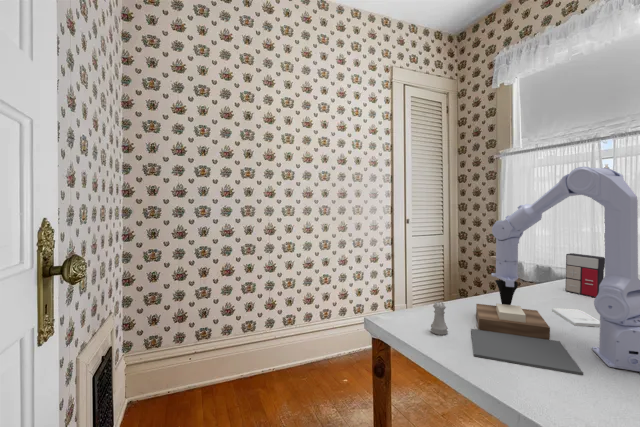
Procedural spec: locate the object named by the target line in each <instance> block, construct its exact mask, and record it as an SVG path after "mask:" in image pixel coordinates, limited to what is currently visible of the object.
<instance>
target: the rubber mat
mask: <svg viewBox="0 0 640 427" xmlns="http://www.w3.org/2000/svg"><path fill="white" fill-rule="evenodd" d="M470 332H471V333H470V334H471V343H472V352H473V357H476V358H482V359H487V360H493V361H497V362H498V361H499V362H505V363H510V364H511V363H512V364H517V365H522V366H529V367H533V368H534V367H535V368H539V369H545V370H551V371H557V372H562V373H568V374H569V373H570V374H574V375H580V376H584V372H583V370H582V369H581V368H580V366H579V365H578V364H577V363H576V361H575V359H574V358H573V357H572V356H571V354H570V353H569V352H568V350H567V349H566V348H565V346H564V345H563V344H562V341H560V340H553V339H550V340H548V339H541V338H533V337H526V336H519V335H512V334H505V333H498V332H491V331H484V330H479V329H476V328H475V329H474V328H470Z"/></svg>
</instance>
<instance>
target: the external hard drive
mask: <svg viewBox="0 0 640 427" xmlns="http://www.w3.org/2000/svg"><path fill="white" fill-rule="evenodd" d="M551 312H552V313H554V314H556V315H558V316H559V317H560V318H562V319H564V320H565V321H566V322H568V323H569V324H571V325H573V326H575V327H587V328H588V327H591V328H600V319H597V318H596V317H593V316H592V315H590V314H588V313H587V312H585V311H583V310H581V309H577V308H575V309H574V308H572V309H571V308H557V307H556V308H555V307H553V308H552V309H551Z"/></svg>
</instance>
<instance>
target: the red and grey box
mask: <svg viewBox="0 0 640 427" xmlns="http://www.w3.org/2000/svg"><path fill="white" fill-rule="evenodd" d="M565 257H566V259H565V289H564V290H565V291H566V292H569V293H572V294H577V295H581V296H585V297H586V296H587V297H590V298H594V299H595V298H596V296H597V295H598V293H599V285H600V283H601V282H602V280H603V279H604V277H605V256H595V255H590V254H580V253H573V252H571V253H566V256H565Z"/></svg>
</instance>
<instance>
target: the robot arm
mask: <svg viewBox="0 0 640 427" xmlns="http://www.w3.org/2000/svg"><path fill="white" fill-rule="evenodd" d="M574 196H583V197H587V198H591V200H593V201H595V202H596V203H598V204H599V205H601V206H602V207H603V208H604V258H605V268H604V278H603V280H602V282H601V283H600V285H599V293H598V295H597V296H596V298H594V300H593V305H594V309H595V311H596V312H597V314H599V321H600V327H599V342H598V343H599V344H598V346H599V347H597V346H591V349H592V351H594V353H595V354H596V355H597V356H598V357H599V358H600V359H601V360H602V362H604V364H605V365H607V367H609V368H615V369H621V370H627V371H634V372H639V373H640V279H639V237H638V236H639V232H638V231H639V228H638V223H639V222H638V221H639V220H638V219H639V218H638V215H639V214H638V212H639V211H638V210H639V208H638V205H639V204H638V201H639V200H638V196H637V195H636V193H635V192H634V190H633V189H632V188H631V187H630V185H629V184H628V183H627V182H626V180H625V179H624V175H623V174H622V173H620V172H618V171H616V170H613V169H611V168H609V167H608V168H607V167H601V168H600V167H589V166H585V165H584V166H578V167H576V168H574V169H572V170H571V171H570V172H569V173H567V174H565V175H563V176H562V177H561V179H560V180H559V181H558V182H557V183H556V184H555V185H554V186H553V187H551V188H550V189H549V190H547V191H546V192H545V193H544V194H543V195H541V197H539V198H538V199H536V200H535V201H534V202H533V203H532V204H530V203H525V204H520V205H518V206H517V209H516V210H515V211H514V212H513V213H511V214H510V215H507V216H505V219H504V220H503V219H502V220H499V219H498V220H496V221H495V223H494V224H492V227H491V233H492V235H493V237H494V238H495V272H491V277H493V278H497V279H494V280H495V281H494V282H495V284H496V285H497V288H498V292H499V297H500V302H501V303H500V304H506V305H512V301H513V297H514V294H515V292H516V290H517V289H518V287H519V284H518V282H517V280H518V279H519V271H518V270H519V266H518V265H519V244H520V239H521V238H522V236H523V234H524V232H525V231H526V230H527V231H528V230H529V228H531V227H532V226H534V225H535V224H537V223H538V222H540V221H541V220H542V216H543V213H545V212H546V211H548V210H550V209H552V208H553V207H554V206H556V205H557V204H558V205H559V203H561V202H563V201H564V200H566V199H568V198H569V197H574Z"/></svg>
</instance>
